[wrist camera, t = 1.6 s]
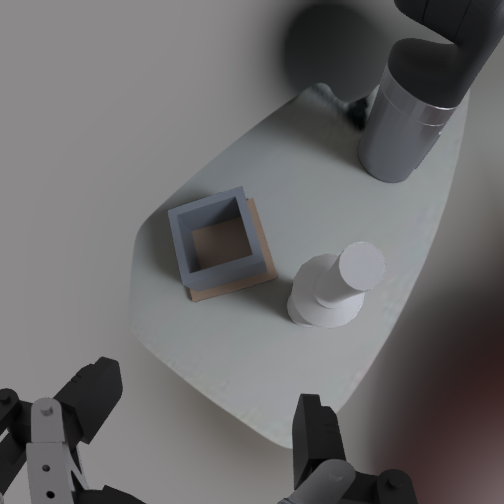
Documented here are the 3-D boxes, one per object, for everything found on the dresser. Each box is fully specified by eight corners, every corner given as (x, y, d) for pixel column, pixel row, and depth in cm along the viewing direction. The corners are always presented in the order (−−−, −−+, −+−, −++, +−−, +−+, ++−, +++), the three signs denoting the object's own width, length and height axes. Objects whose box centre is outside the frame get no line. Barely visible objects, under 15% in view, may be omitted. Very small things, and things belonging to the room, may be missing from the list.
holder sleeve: (253, 201, 39) (247, 176, 33) (277, 278, 36) (277, 267, 30) (177, 225, 40) (158, 205, 33) (194, 302, 37) (176, 296, 30)
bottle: (295, 279, 36) (323, 189, 12) (333, 294, 35) (428, 232, 11) (280, 318, 35) (280, 302, 11) (318, 333, 34) (397, 346, 10)
